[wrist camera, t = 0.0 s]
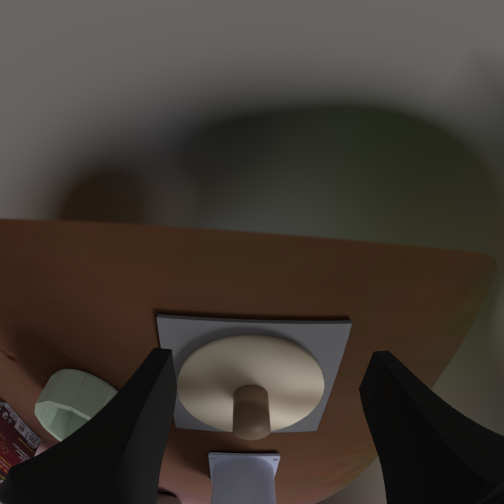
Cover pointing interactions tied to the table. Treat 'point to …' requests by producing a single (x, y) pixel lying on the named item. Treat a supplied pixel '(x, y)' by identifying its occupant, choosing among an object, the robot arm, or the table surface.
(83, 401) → the bowl
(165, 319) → the mat
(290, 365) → the board
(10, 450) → the supplement box
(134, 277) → the table surface
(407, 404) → the robot arm
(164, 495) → the plastic bottle
